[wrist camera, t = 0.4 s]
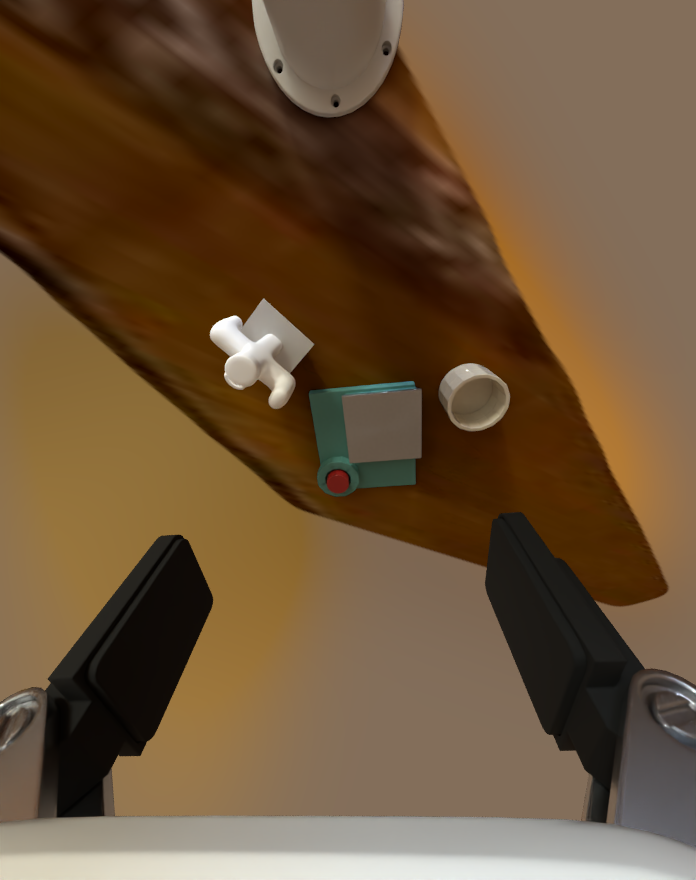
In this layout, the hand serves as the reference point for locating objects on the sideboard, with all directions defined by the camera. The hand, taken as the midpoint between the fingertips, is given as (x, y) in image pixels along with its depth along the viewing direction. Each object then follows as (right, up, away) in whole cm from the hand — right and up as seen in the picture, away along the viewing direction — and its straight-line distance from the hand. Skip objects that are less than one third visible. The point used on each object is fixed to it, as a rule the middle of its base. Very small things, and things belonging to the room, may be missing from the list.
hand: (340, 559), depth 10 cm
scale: (+3, +4, +37) cm, 37 cm away
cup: (+16, +10, +33) cm, 38 cm away
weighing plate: (+5, +7, +35) cm, 36 cm away
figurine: (-9, +16, +31) cm, 36 cm away
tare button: (-1, -2, +37) cm, 37 cm away
